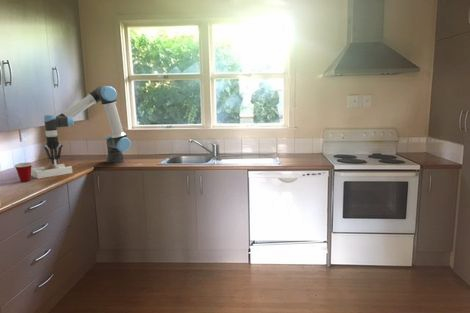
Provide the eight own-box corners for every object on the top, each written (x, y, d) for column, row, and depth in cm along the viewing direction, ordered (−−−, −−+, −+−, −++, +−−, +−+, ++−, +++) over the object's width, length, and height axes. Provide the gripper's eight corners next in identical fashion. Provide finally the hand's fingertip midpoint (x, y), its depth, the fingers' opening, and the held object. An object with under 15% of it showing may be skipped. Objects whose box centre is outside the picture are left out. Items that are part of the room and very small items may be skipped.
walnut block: (53, 169, 267) (52, 164, 266) (55, 170, 263) (55, 165, 262) (45, 171, 263) (44, 165, 262) (47, 172, 259) (47, 166, 258)
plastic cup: (14, 183, 239) (11, 166, 237) (18, 180, 249) (16, 163, 247) (32, 182, 242) (30, 164, 240) (36, 178, 252) (34, 161, 250)
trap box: (64, 170, 280) (63, 163, 279) (72, 172, 269) (71, 166, 268) (30, 175, 264) (29, 168, 263) (37, 178, 252) (36, 171, 251)
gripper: (59, 135, 268) (62, 166, 272) (40, 136, 259) (44, 168, 263) (63, 135, 263) (66, 167, 267) (43, 137, 254) (47, 170, 258)
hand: (55, 168), depth 265 cm, fingers closed
